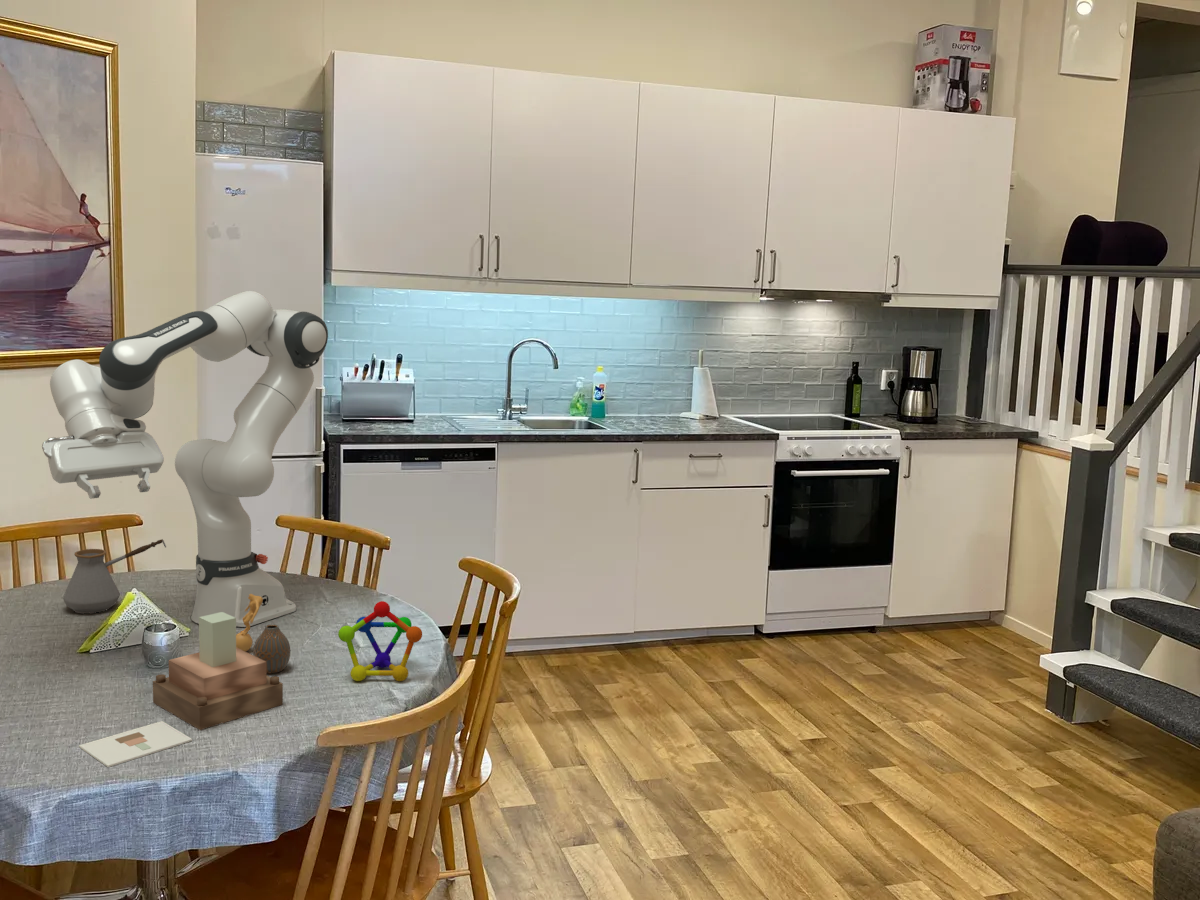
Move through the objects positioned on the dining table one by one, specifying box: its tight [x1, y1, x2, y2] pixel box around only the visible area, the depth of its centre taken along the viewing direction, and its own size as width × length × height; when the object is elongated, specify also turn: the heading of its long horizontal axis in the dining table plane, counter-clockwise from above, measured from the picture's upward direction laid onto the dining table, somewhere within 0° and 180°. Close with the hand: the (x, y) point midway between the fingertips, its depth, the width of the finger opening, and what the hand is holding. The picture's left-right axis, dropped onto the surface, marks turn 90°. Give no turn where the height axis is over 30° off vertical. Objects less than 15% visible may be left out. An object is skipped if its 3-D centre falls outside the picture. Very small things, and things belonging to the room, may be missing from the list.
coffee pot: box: [62, 538, 167, 614], centre depth 245 cm, size 21×12×15 cm, turn 113°
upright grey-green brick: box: [198, 612, 237, 667], centre depth 194 cm, size 4×4×8 cm
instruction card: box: [78, 720, 193, 768], centre depth 178 cm, size 14×10×1 cm
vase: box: [252, 624, 291, 674], centre depth 212 cm, size 7×7×9 cm
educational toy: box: [337, 600, 423, 682], centre depth 212 cm, size 16×13×15 cm
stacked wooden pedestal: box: [152, 647, 284, 731], centre depth 195 cm, size 16×16×8 cm
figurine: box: [236, 594, 263, 652], centre depth 221 cm, size 8×6×12 cm
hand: (121, 493), depth 204 cm, fingers open, 8 cm apart
